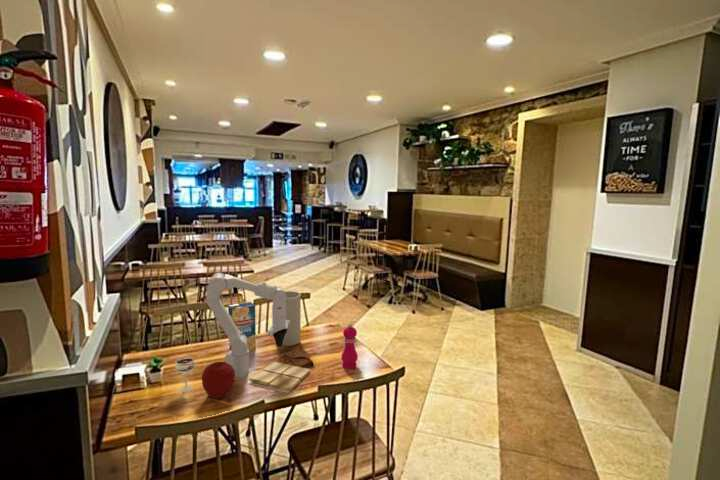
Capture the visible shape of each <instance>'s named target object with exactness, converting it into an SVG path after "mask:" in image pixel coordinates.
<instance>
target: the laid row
mask: <svg viewBox="0 0 720 480" xmlns="http://www.w3.org/2000/svg"><path fill="white" fill-rule="evenodd" d="M262 370H263V371H266V372H271V373H275V374H280V375H284V376H288V377H293V378H298V379H300V382H302V380H303V379H304V378H305V377H307V376H308V373H309V372H310V371H311V368H308V367H305V368H302V367H297V366H294V365H292V364H286V363H283V362H282V363H281V362H277V361H272V362H271V363H270V364H268V365H266V366H265V367H264V368H263V369H262ZM310 373H311V372H310ZM310 373H309V374H310Z"/></svg>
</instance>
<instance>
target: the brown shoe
mask: <svg viewBox="0 0 720 480" xmlns="http://www.w3.org/2000/svg"><path fill="white" fill-rule="evenodd" d="M285 356H286V358H288V360H289V361H290V362H291V365H292V366H297V367H302V368H309V367H314V366H315V365H314V361H313V360H312V359H311V358H310V356H308V354H307V353H306V351H304V350H303V348H302V347H301V346H300V345H297V347H295V348H294V349H292V350H290V351H289V352H287V353H285Z"/></svg>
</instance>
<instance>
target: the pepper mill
mask: <svg viewBox="0 0 720 480" xmlns="http://www.w3.org/2000/svg"><path fill="white" fill-rule="evenodd" d="M342 331H343V332H342V334H343V337H344V338H343V341H344V343H345V344H344V348H343V351H342V353H341V361H342V365H341V367H342V368H343V369H346V370H354V369H356V368H357V360H358V352H357V350H356V348H355V342H356V339H357V338H356V337H357V334H358V331H357V329H356V328H355V327H354V326H353V324H352V323H348V325H347V326H346V327H345V328H344V329H343V330H342Z"/></svg>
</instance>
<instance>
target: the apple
mask: <svg viewBox="0 0 720 480" xmlns="http://www.w3.org/2000/svg"><path fill="white" fill-rule="evenodd" d="M235 377H236V376H235V371H234V369H233V366H231V365H230V364H228V363H225V361H217V362H211V363H209V365H206V367H205V368H204V370H203V372H202V374H201V383H202V387H203V389H204V391H205V392H206V395H208V397H210V398H212V399H214V400H218V399H222V398H224V397H225V396H227V395H228V394H230V392H231V390H232V388H233V384H234V382H235Z"/></svg>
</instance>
